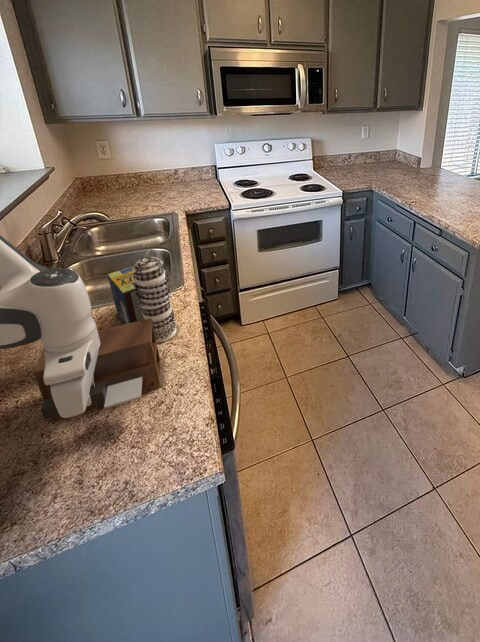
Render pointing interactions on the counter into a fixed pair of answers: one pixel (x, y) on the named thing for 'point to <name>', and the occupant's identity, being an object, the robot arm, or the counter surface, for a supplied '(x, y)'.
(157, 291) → the decorative candle
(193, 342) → the counter surface
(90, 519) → the counter surface
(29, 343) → the robot arm
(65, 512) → the counter surface
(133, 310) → the protein box
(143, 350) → the box
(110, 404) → the spatula
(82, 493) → the counter surface
